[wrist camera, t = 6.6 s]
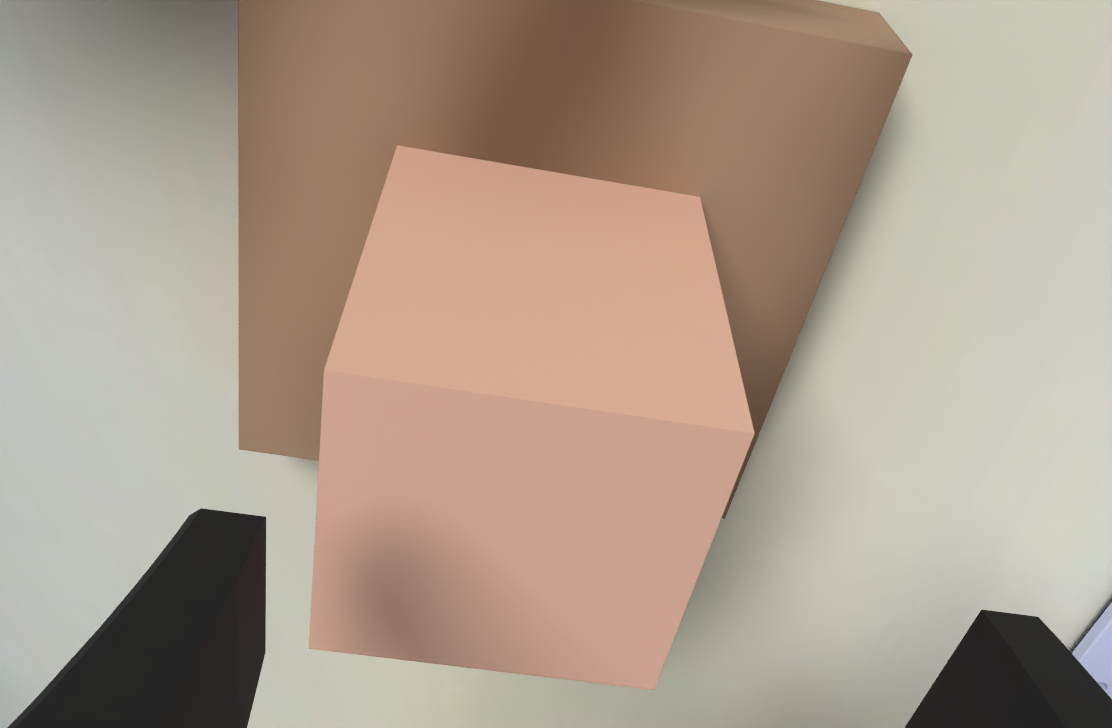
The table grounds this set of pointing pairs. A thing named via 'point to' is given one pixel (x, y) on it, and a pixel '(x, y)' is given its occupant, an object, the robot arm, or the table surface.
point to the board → (545, 149)
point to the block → (524, 425)
